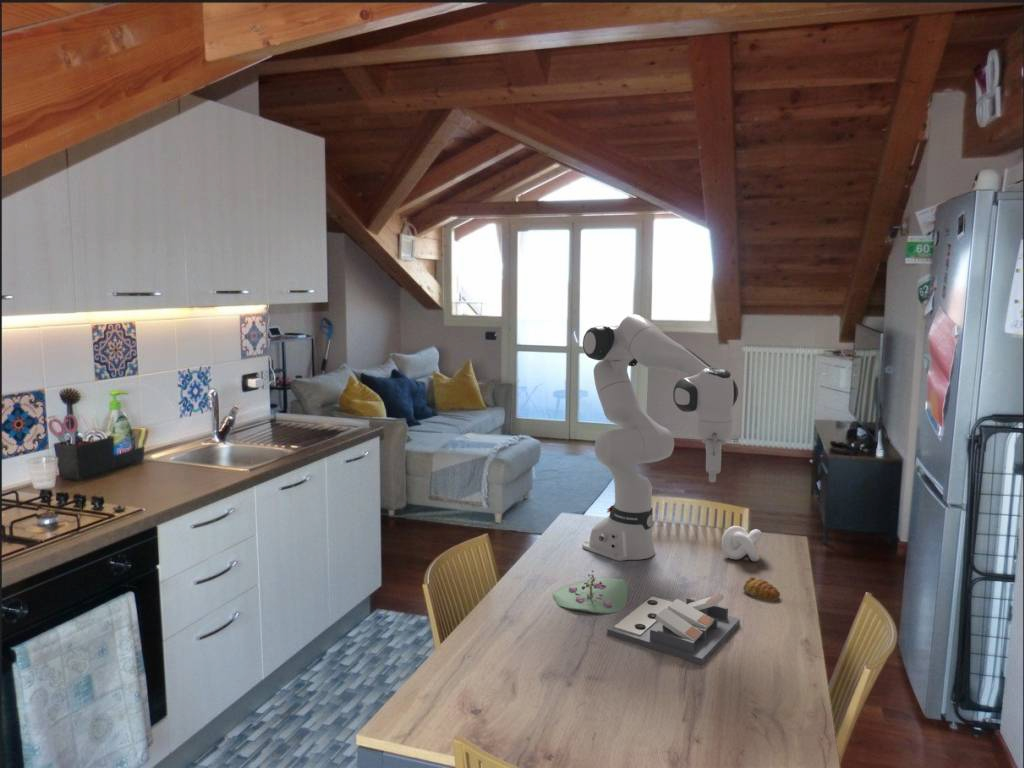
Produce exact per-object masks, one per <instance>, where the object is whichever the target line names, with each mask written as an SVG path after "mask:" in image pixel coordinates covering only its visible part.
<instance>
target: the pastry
mask: <svg viewBox="0 0 1024 768" xmlns="http://www.w3.org/2000/svg"><path fill="white" fill-rule="evenodd" d="M743 591H744V592H745V593H746V594H747V595H751V596H752V597H754V598H757V597H758V598H757V599H760V598H761V600H764V599H765V601H773V602H774V601H776V600H778V599H779V598H780V596H781V593H780V591H779V589H778V588H776V587H775V586H773V584H770V583H769V582H768V581H767V580H763V578H756V577H753V576H751V577H748V578H747V580H746V581H745V583H744V584H743Z"/></svg>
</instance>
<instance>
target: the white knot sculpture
mask: <svg viewBox="0 0 1024 768" xmlns="http://www.w3.org/2000/svg"><path fill="white" fill-rule="evenodd" d="M762 536H763V535H762V532H761V530H760V529H757V528H755V529H752V530H751V531H749V532H748V531H747V530H746V529H745V528H743V527H742V526H739V525H732V526H730V527H728V528H727V529H726V530H725V531H724V533H723V535H722V537H721V549H722V551H723V553H724V555H725V556H726V557H727V558H729V559H730V560H733V559H734V560H735V561H738V560H741V559H743V558H744V557H745V556H748V559H750V561H752V562H758V561H759V560H760V553H759V551H758V549H757V548H756V546H757V544H758V543H759V541H760V540H761V538H762Z"/></svg>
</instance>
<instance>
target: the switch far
mask: <svg viewBox="0 0 1024 768" xmlns="http://www.w3.org/2000/svg"><path fill="white" fill-rule="evenodd" d="M724 599H725V597H724V595H723V593H718V594H714V595H711V596H708V597H706V598H702V599H697V600H698V601H695V602H691V603H688V604H687V605H689V606H691V607H693V608H695V609H696V610H702V609H705V608H709V607H712V606H716V605H718V604H720V603H721V602H722V601H723V600H724Z"/></svg>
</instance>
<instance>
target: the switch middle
mask: <svg viewBox="0 0 1024 768" xmlns="http://www.w3.org/2000/svg"><path fill="white" fill-rule="evenodd" d="M673 601H674V602H673V603H671V604H670V605H669V606H668V610H670V611H671V612H673V613H674V614H676V615H677V616H679V617H680V618H682V619H683V620H685V621H687V622H689V623H691V624H692V625H694V626H696V627H699V628H702V629H706V630H707V629H708V628H709V627H710V626H711V625H712V624H713V622H714V619H713V618H711V617H709V616H707V615H706V614H704V613H702V612H700V611H698V610H696V609H695V608H693V607H691V606H689V605H687V604H686V603H685V602H684V601H682V600H680V599H678V598H676V599H675V600H673Z"/></svg>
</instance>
